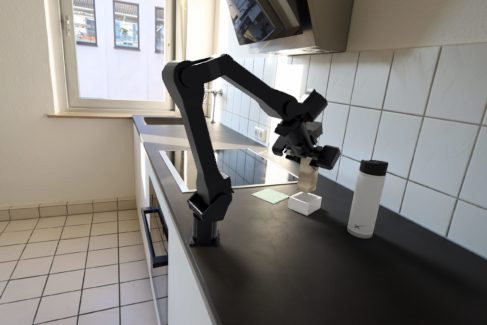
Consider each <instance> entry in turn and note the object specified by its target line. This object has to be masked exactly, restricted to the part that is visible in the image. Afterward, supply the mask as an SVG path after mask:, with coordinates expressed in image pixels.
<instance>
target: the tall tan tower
mask: <svg viewBox="0 0 487 325" xmlns="http://www.w3.org/2000/svg"><path fill="white" fill-rule="evenodd" d="M311 160H312V158H308V157H307V158H306V159H305V158H301V162H300V165H299V171H298V178H297V185H296V190H297V191H299V192H304V193H311V192H314V191H316V188H317V182H318V176H319V175H318V174H319V170H320V168H319V169H318V171H316V170H314V169H313V168H312V167H310V166H309V163H310V161H311Z"/></svg>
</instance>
